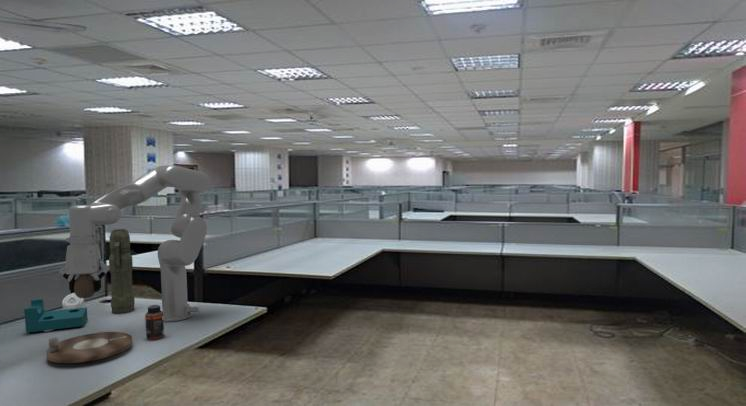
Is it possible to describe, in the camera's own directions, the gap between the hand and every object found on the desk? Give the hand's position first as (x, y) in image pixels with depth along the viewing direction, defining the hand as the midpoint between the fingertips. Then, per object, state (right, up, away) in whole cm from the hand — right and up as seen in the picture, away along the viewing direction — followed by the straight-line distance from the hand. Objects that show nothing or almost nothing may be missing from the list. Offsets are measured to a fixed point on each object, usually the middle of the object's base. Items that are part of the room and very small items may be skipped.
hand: (85, 291), depth 165 cm
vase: (0, -2, 0) cm, 2 cm away
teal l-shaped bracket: (-21, -17, +18) cm, 33 cm away
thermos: (-7, -16, +38) cm, 42 cm away
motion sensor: (-28, -16, +39) cm, 50 cm away
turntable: (+8, -17, -10) cm, 21 cm away
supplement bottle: (+22, -17, +4) cm, 29 cm away
